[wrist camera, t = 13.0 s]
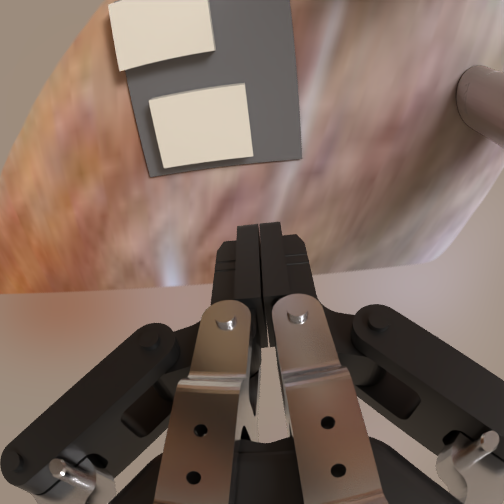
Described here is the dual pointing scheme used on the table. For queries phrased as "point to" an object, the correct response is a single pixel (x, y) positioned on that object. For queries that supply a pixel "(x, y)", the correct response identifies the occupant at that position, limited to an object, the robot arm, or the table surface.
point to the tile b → (202, 125)
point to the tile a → (160, 30)
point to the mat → (232, 81)
